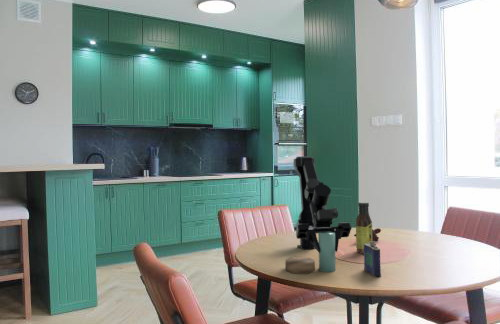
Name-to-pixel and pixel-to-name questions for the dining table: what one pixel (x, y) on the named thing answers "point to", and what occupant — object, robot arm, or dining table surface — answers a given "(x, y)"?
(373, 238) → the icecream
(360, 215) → the sauce bottle
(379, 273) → the flask
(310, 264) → the stand
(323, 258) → the teal upright cylinder
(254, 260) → the dining table surface
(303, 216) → the robot arm
